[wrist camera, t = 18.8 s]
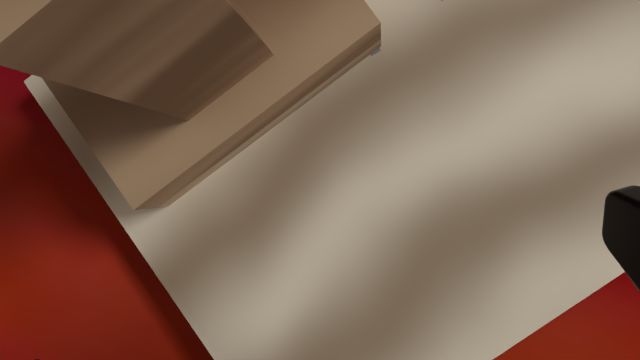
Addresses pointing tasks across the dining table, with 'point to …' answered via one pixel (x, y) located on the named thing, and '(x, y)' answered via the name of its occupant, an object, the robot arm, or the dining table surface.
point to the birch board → (411, 190)
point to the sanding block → (181, 75)
